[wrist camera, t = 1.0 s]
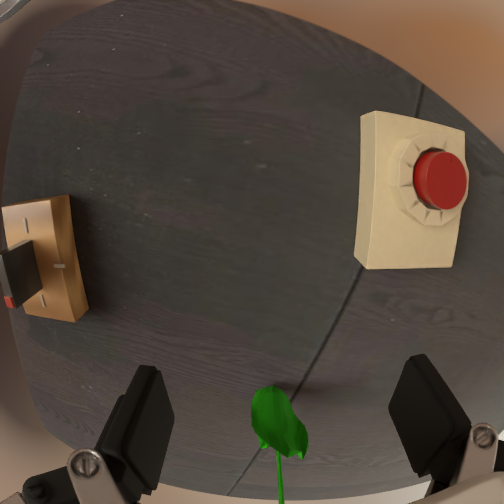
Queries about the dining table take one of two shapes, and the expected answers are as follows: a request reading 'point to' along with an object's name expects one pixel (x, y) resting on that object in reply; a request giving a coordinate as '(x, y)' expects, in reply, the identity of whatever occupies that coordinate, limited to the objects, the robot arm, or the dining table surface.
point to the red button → (440, 179)
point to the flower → (278, 427)
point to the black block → (19, 273)
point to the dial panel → (49, 255)
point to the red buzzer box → (403, 194)
